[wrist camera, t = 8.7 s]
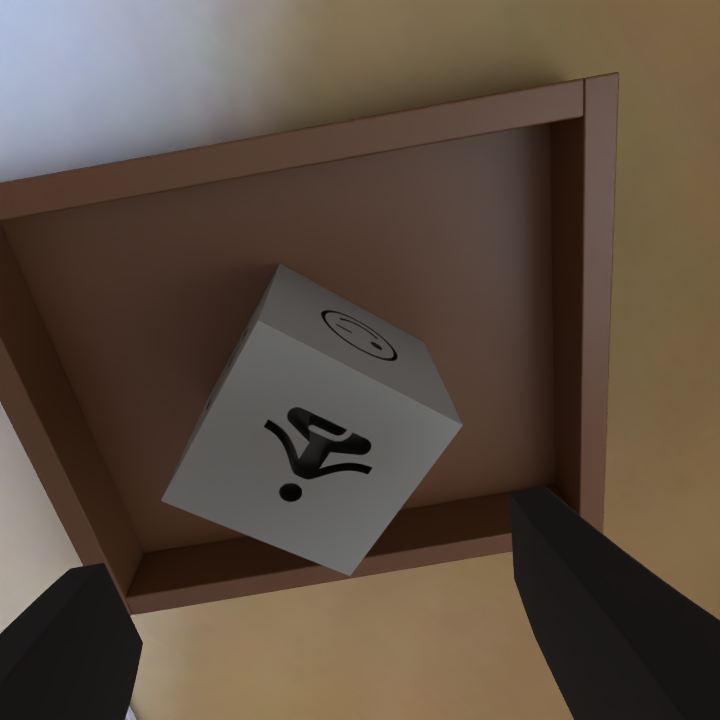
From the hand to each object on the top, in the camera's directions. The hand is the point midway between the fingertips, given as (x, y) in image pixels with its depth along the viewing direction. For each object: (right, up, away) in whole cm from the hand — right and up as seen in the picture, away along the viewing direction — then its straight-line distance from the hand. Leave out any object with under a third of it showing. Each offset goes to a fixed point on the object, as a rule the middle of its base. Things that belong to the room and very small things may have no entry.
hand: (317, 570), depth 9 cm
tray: (-1, +4, +7) cm, 8 cm away
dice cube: (-1, +3, +7) cm, 8 cm away
